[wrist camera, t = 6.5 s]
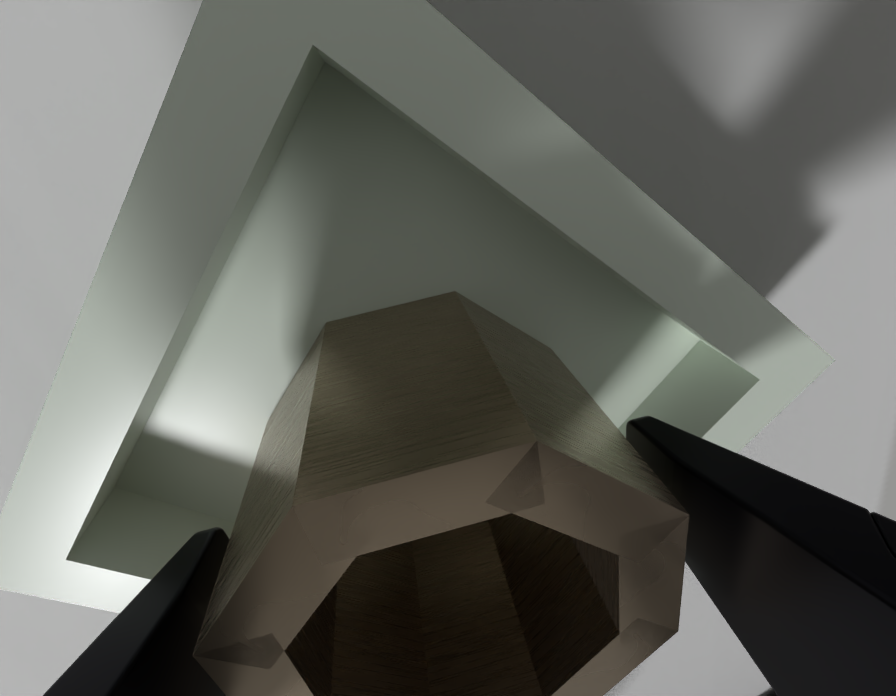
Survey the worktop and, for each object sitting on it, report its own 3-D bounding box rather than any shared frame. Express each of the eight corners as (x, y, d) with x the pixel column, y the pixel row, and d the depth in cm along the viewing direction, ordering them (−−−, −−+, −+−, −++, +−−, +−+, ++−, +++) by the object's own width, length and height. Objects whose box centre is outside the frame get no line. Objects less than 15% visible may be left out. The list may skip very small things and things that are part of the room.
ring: (544, 268, 9) (700, 396, 5) (567, 530, 13) (668, 731, 9) (232, 345, 9) (107, 554, 5) (349, 591, 13) (342, 834, 9)
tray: (749, 316, 12) (835, 360, 9) (472, 608, 15) (489, 687, 13) (292, -65, 7) (260, -146, 5) (52, 490, 11) (-27, 583, 8)
